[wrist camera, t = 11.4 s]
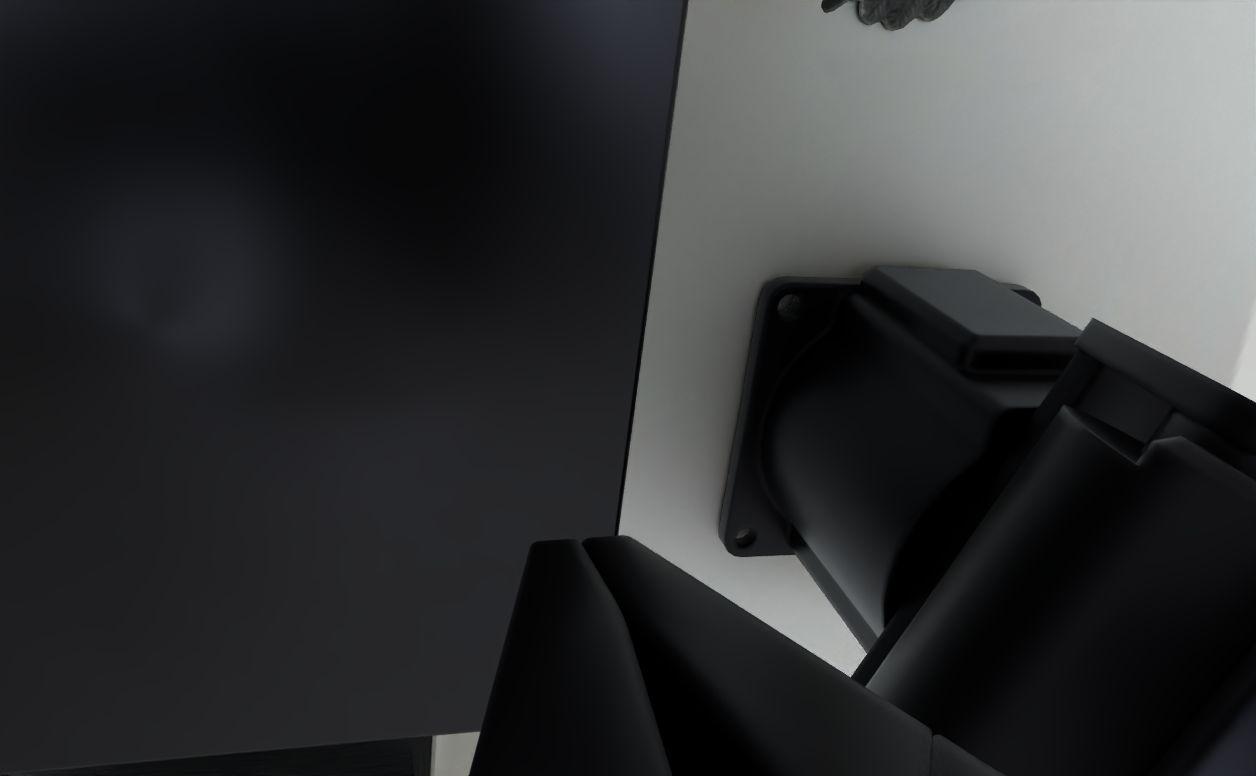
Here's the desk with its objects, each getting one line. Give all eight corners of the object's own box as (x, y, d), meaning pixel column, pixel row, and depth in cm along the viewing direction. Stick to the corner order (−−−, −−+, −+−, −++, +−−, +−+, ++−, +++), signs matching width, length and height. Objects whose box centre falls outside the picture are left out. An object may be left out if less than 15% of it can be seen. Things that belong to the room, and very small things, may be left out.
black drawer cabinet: (505, 451, 21) (595, 724, 14) (-87, 461, 18) (-343, 810, 11) (556, -182, 17) (723, -241, 10) (-219, -306, 14) (-784, -519, 7)
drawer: (454, 865, 25) (492, 1142, 19) (8, 921, 22) (-98, 1263, 16) (497, 265, 19) (568, 416, 13) (-104, 244, 16) (-326, 423, 11)
